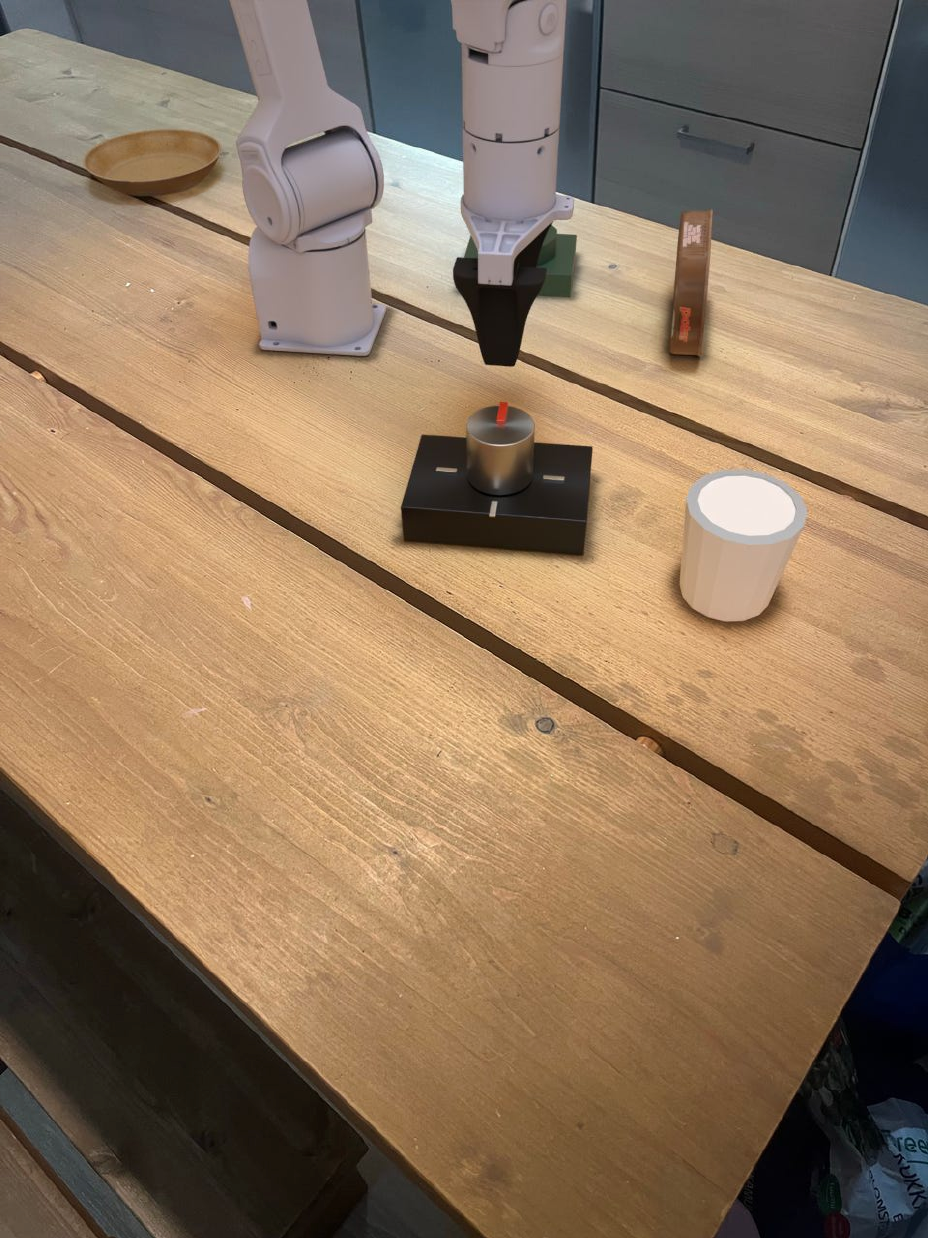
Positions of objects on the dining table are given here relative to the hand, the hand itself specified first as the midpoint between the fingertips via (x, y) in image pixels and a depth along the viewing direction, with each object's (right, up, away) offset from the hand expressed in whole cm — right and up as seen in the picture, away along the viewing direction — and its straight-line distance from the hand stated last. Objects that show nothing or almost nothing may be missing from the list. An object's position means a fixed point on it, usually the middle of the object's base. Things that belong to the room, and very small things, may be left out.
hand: (506, 333), depth 66 cm
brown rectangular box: (+16, +5, +16) cm, 23 cm away
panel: (-1, -12, 0) cm, 12 cm away
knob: (-1, -10, -2) cm, 10 cm away
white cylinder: (+13, -18, -6) cm, 23 cm away
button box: (+2, +12, +23) cm, 26 cm away
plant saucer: (-37, +29, +40) cm, 62 cm away
